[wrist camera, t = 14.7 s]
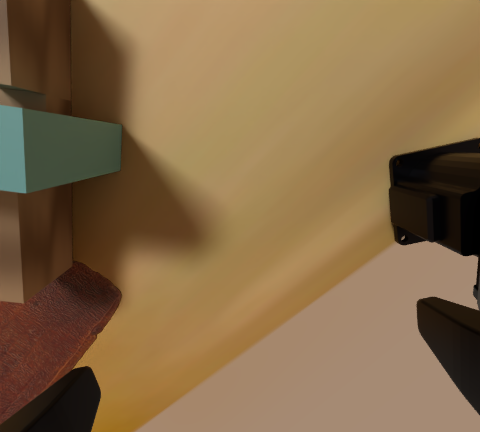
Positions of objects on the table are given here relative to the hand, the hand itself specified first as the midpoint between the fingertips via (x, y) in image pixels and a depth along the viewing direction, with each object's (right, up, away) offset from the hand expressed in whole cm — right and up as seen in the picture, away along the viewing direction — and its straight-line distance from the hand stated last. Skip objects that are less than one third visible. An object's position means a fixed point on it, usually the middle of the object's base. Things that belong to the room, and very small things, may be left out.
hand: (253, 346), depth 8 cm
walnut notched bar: (-13, +9, +11) cm, 19 cm away
